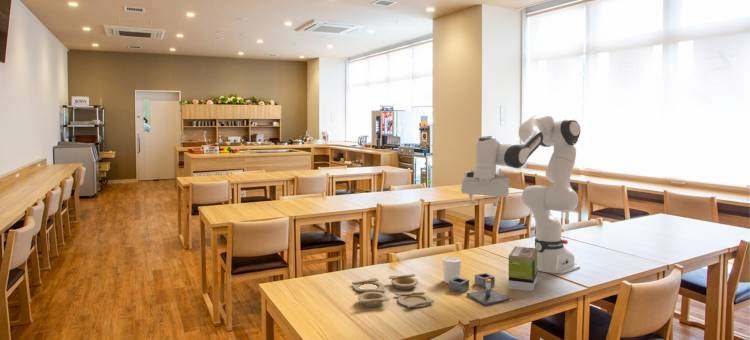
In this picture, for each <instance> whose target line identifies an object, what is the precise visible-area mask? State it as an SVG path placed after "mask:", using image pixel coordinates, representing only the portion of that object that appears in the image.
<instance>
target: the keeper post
mask: <svg viewBox="0 0 750 340" xmlns="http://www.w3.org/2000/svg"><path fill="white" fill-rule="evenodd" d="M485 281H486V288H485V289H481V290H476V291H471V292H466V297H469V298H470V299H472V300H473V301H475V302H477V303H478V304H480V305H482V306H484V307H486V306H492V305H497V304H501V303H507V302H510V301H511V297H508V296H507V295H504V294H502V293H501V292H498V291H497V290H495V289H493V288H492V287H491V279H485ZM506 301H507V302H506Z"/></svg>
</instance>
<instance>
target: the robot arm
mask: <svg viewBox="0 0 750 340" xmlns="http://www.w3.org/2000/svg"><path fill="white" fill-rule="evenodd" d="M580 126H581V125H580V124H579V123H578V121H576V120H575V119H571V118H567V119H564V120H563V119H562V120H557V121H555V120H554V117H553V116H552V115H550V114H549V113H546V112H541V113H538V114H535V115H534V116H532V117H530V118H528V119H527V120H525V121H524V122H522V124H521V125H520V126H519V128H518V137H519V138H520V140H521V141H522V143H520V144H506V143H502V142H500V141H498V140H497V139H496V137H495V136H493V135H487V136H486V135H485V136H481V137H479V138H478V140H477V143H476V147H475V148H476V149H475V161H476V162H475V165H474V166H475V167H474V168H475V169H471V170H468V171H466V172H464V174H463V176H464V178H463V179H462V180H461V190H460V191H461V193H462V194H465V195H468V197H469V199H470V201H471V202H470V203H471V205H476V204H477V203H476V199H474V197H473V196H474V195H480V196H489V197H490V196H492V197H495V199H496V201H493V202H492V203H493V205H492V206H493V207H498V202H499V200H500V199H501V197H504V198H505V197H507V196H509V194H510V190H509V186H510V180H511V179H510V177H509V176H507V174H497V166H501V167H509V168H513V169H521V168H522V167H523V166H525V164H526V162H527V161H528V159H529V157H530V156H531V155H533V153H534V152H535V151H536V150H537V149H539V147H540V146H541V147H542V148H543V147H545V148H548V147H549V148H550V147H553V151H552V154H551V156H550V158H549V161H548V164H547V168H546V170H545V177H546V180H548V181H549V182H550V183H552V185H549V186H548V185H540V184H539V185H537V184H536V185H535V184H534V185H528V186H526V187H525V188H524V189H523V190H522V194H521V198H522V202H523V203H524V206H526V207H527V208H528V209H529V210H530V211H531V214H532V215H533V218H534V221H535V238H534V248H537V272H543V273H551V274H560V275H564V274H566V273H570V272H571V271H575V270H578V269H580V268H581V265H579V264H578V263H576V262H575V256H574V254H573V252H571V251H570V250H568V249H567V248H566V247H565V246H564V245H568V243H569V241H568V240H567V239H562V224H561V222H560V220H559V219H558V218H556V217H555V216H554V215H553V214H552V212H553V211H554V212H561V213H562V212H572V211H573V212H574V210H575V209H576V208H577V207H578V204H579V196H578V193H577V192H576V191H575V190H574V189H573V187H572V185H571V182H570V181H571V176H572V172H573V169H574V165H575V163H576V162H575V161H576V157H577V156H576V155H577V148H576V147H575V145H576V144H577V143H578V141H579V138H580V135H581V127H580ZM551 211H552V212H551Z"/></svg>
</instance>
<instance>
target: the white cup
mask: <svg viewBox="0 0 750 340" xmlns="http://www.w3.org/2000/svg"><path fill="white" fill-rule="evenodd" d="M461 267H462V259H461V258H460V257H457V256H445V257H443V258H442V268H443V281H444V283H447V284H449V281H450V280H452V279H454V278H456V277H458V278H461V269H462V268H461Z"/></svg>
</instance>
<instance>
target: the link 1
mask: <svg viewBox="0 0 750 340" xmlns="http://www.w3.org/2000/svg"><path fill="white" fill-rule="evenodd" d="M468 290H470V280H469V279H466V278H463V277H462V278H461V277H460V278H458V277H456V278H454V279H452V280H450V281H449V283H448V291H451V292H454V293H458V294H463V293H465V292H467V291H468Z"/></svg>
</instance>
